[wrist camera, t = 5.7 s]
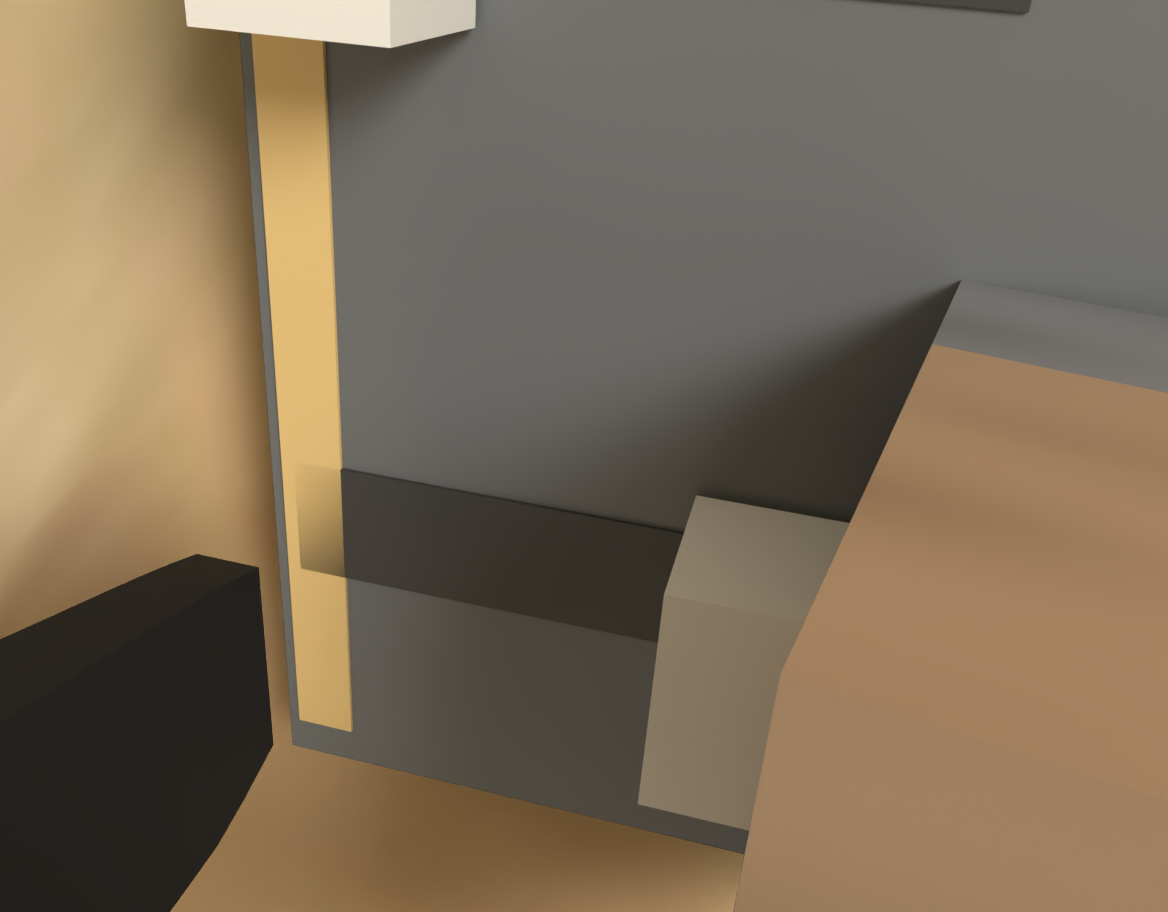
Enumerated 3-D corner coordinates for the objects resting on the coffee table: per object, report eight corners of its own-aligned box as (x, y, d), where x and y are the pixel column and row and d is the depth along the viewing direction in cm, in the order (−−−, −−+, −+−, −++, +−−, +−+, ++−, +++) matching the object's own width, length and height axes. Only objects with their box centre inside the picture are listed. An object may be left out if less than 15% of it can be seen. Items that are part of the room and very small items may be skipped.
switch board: (1010, 825, 13) (1026, 925, 12) (344, 673, 15) (290, 746, 14) (1428, -371, 8) (1546, -437, 6) (297, -398, 9) (199, -454, 8)
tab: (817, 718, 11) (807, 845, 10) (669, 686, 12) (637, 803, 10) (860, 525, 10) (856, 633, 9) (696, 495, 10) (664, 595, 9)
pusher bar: (1037, 943, 11) (981, 1694, 7) (819, 859, 12) (621, 1471, 7) (1277, 339, 8) (1524, 916, 3) (961, 279, 9) (781, 674, 4)
